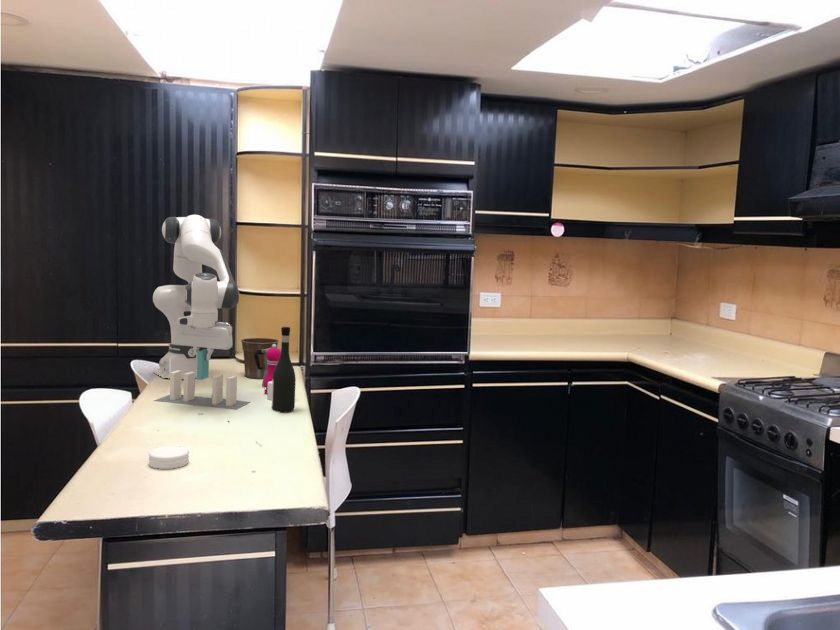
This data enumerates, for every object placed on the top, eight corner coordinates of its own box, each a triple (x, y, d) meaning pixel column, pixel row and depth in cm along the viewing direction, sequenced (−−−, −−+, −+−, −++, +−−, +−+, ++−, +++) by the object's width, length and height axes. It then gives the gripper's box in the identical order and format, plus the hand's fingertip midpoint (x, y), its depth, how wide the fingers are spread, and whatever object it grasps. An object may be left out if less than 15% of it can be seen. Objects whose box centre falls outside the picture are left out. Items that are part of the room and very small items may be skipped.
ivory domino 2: (183, 401, 242) (183, 374, 241) (190, 398, 247) (191, 371, 246) (187, 401, 242) (187, 374, 241) (194, 398, 247) (195, 372, 246)
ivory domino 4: (225, 405, 239) (226, 378, 238) (232, 402, 244) (232, 375, 243) (229, 406, 239) (230, 378, 238) (236, 403, 244) (237, 376, 243)
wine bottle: (266, 410, 237) (269, 326, 234) (281, 406, 244) (284, 325, 241) (284, 414, 234) (287, 329, 230) (298, 409, 241) (302, 327, 237)
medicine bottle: (279, 403, 248) (280, 372, 246) (266, 400, 252) (267, 369, 251) (293, 400, 253) (294, 369, 252) (281, 397, 258) (282, 366, 256)
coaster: (175, 455, 185) (176, 443, 185) (196, 464, 179) (196, 451, 179) (141, 463, 177) (141, 450, 177) (161, 473, 171) (161, 459, 171)
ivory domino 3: (211, 404, 240) (212, 376, 239) (218, 401, 245) (219, 374, 244) (215, 404, 240) (216, 377, 239) (222, 401, 245) (223, 374, 244)
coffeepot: (281, 382, 284) (283, 340, 283) (292, 386, 277) (294, 344, 275) (248, 385, 275) (249, 342, 273) (258, 390, 267) (259, 345, 266)
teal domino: (197, 379, 231) (197, 351, 230) (204, 376, 236) (204, 349, 234) (201, 380, 230) (202, 351, 229) (208, 377, 235) (209, 349, 234)
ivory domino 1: (169, 399, 243) (170, 372, 242) (177, 396, 248) (177, 370, 247) (173, 400, 243) (174, 373, 242) (181, 397, 248) (181, 370, 247)
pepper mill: (277, 397, 258) (279, 346, 256) (259, 395, 259) (261, 344, 257) (284, 393, 265) (286, 343, 263) (267, 391, 266) (269, 341, 264)
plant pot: (237, 373, 298) (237, 337, 296) (273, 372, 305) (274, 337, 303) (243, 380, 284) (244, 343, 282) (281, 379, 290) (282, 342, 289)
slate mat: (153, 401, 240) (153, 400, 240) (171, 394, 252) (171, 393, 252) (236, 410, 235) (236, 409, 235) (251, 403, 247) (251, 401, 246)
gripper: (236, 321, 232) (235, 361, 234) (182, 316, 235) (181, 355, 237) (227, 324, 226) (226, 364, 227) (172, 319, 229) (171, 358, 231)
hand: (203, 359), depth 232 cm, fingers closed on teal domino, 2 cm apart
